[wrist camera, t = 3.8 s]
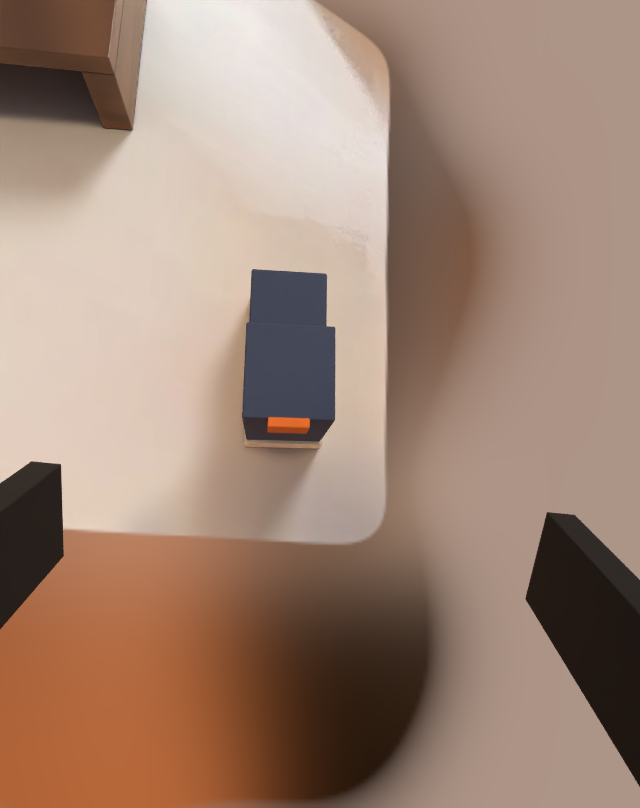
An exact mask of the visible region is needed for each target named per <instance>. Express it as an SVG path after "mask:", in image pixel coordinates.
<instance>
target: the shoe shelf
mask: <svg viewBox="0 0 640 808" xmlns="http://www.w3.org/2000/svg"><path fill="white" fill-rule="evenodd" d="M146 2H147V0H0V63H3V64H13V65H23V66H33V67H43V68H53V69H64V70H74V71H81V72H82V75H83V77H84V80H85V82H86V85H87V87H88V90H89V92H90V95H91V97H92V100H93V102H94V105H95V108H96V110H97V113H98V115H99V118H100V120H101V123H102V125H103V127H104V128H115V129H126V130H132V129H133V121H134V111H135V102H136V93H137V84H138V75H139V66H140V57H141V47H142V38H143V29H144V20H145V11H146Z"/></svg>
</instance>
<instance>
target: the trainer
mask: <svg viewBox="0 0 640 808" xmlns="http://www.w3.org/2000/svg"><path fill="white" fill-rule="evenodd" d="M326 310H327V275H326V274H321V273H304V272H288V271H272V270H256V269H253V270H252V276H251V299H250V322H248V323H247V324H246V345H245V367H244V390H243V412H242V418H243V423H244V429H245V438H244V443H245V446H246V447H278V448H316V449H318V448H319V447H320V446H321V445H322V438H323V436H324V435H325V433H326V432H327V430H328V429H329V428H330V426H331V425H332V423H333V422H334V420H335V327H327V326H326Z"/></svg>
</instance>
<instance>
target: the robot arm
mask: <svg viewBox="0 0 640 808" xmlns="http://www.w3.org/2000/svg"><path fill="white" fill-rule="evenodd" d="M63 556H64V555H63V520H62V485H61V464H52V463H42V462H30V463H29V464H27V465H26V466H24V467H23V468H22V469H20V470H19V471H17V472H16V473H14V474H13V475H12V476H10V477H9V478H7V479H6V480H5V481H3V482H2V483H0V629H1V628H2V627H3V625H4V624H5V623H6V622H7V621H8V619H9V618H10V617H11V616H12V615H13V614H14V613H15V611H16V610H17V609H18V608H19V607H20V606H21V605H22V603H23V602H24V601H25V600H26V599H27V598H28V596H29V595H30V594H31V593H32V592H33V591H34V590H35V588H36V587H37V586H38V585H39V584H40V582H41V581H42V580H43V579H44V578H45V577H46V576H47V574H48V573H49V572H50V571H51V570H52V569H53V568H54V566H55V565H56V564H57V563H58V562H59V561H60V559H61V558H62V557H63ZM526 601H527V602H528V604H529V605H530V607H531V609H532V610H533V612H534V614H535V615H536V617H537V619H538V620H539V622H540V623H541V625H542V627H543V629H544V630H545V632H546V633H547V635H548V637H549V638H550V640H551V642H552V643H553V645H554V647H555V648H556V650H557V651H558V653H559V655H560V656H561V658H562V660H563V661H564V663H565V664H566V666H567V668H568V670H569V671H570V673H571V675H572V676H573V678H574V679H575V681H576V683H577V684H578V686H579V687H580V689H581V691H582V693H583V694H584V696H585V697H586V699H587V700H588V702H589V704H590V706H591V707H592V709H593V710H594V712H595V714H596V715H597V717H598V719H599V720H600V722H601V724H602V725H603V727H604V729H605V730H606V732H607V733H608V735H609V737H610V739H611V740H612V742H613V743H614V745H615V747H616V748H617V750H618V752H619V753H620V755H621V757H622V758H623V760H624V762H625V763H626V765H627V766H628V768H629V770H630V771H631V773H632V775H633V776H634V778H635V780H636V781H637V783H638V784H639V786H640V580H639V579H638V578H637V577H636V576H635V575H634V574H633V573H632V572H631V571H630V570H629V569H628V568H627V567H626V566H625V565H624V564H623V563H622V562H621V561H620V560H619V559H618V558H617V557H616V556H615V555H614V554H613V553H612V552H611V551H610V550H609V549H608V548H607V547H606V546H605V545H604V544H603V543H602V542H601V541H600V540H599V539H598V538H597V537H596V536H595V535H594V534H593V533H592V532H591V531H590V530H589V529H588V528H587V527H586V526H585V525H584V524H583V523H582V522H581V521H580V520H579V519H578V518H577V517H576V516H575V515H569V514H559V513H549V512H548V513H547V515H546V519H545V523H544V527H543V531H542V535H541V539H540V543H539V547H538V551H537V555H536V559H535V563H534V567H533V571H532V575H531V579H530V583H529V587H528V591H527V595H526Z"/></svg>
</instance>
